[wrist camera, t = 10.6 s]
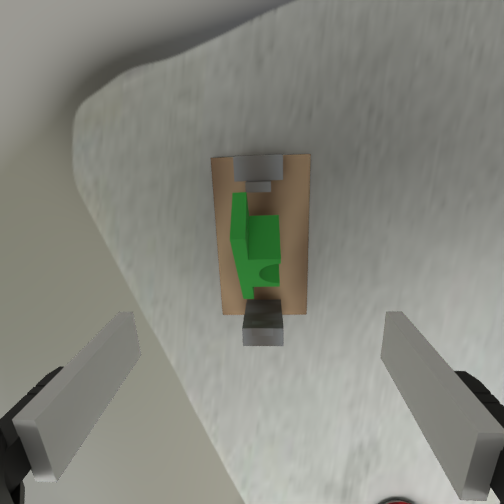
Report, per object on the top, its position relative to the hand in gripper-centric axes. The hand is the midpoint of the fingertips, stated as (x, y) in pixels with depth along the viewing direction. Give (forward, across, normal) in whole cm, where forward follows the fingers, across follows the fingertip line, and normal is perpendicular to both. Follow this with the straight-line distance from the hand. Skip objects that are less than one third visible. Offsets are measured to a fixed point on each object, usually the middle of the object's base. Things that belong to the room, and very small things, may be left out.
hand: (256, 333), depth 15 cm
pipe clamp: (+14, 0, -2) cm, 14 cm away
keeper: (+18, 0, 0) cm, 18 cm away
